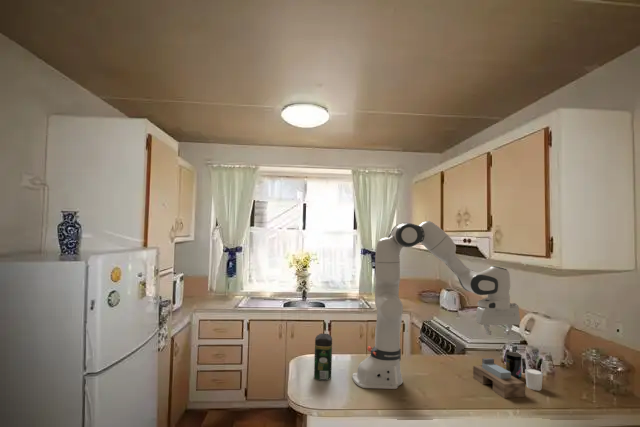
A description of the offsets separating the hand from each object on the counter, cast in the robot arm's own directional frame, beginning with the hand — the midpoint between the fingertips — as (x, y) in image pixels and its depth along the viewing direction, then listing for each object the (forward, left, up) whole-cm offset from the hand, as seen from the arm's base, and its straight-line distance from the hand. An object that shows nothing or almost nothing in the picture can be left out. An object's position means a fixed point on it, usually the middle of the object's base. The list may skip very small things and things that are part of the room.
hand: (497, 334), depth 155 cm
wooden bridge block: (0, 0, -23) cm, 23 cm away
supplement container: (+16, +9, -23) cm, 29 cm away
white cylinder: (+16, -3, -23) cm, 28 cm away
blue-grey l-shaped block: (0, +1, -17) cm, 17 cm away
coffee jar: (-75, +20, -23) cm, 81 cm away
